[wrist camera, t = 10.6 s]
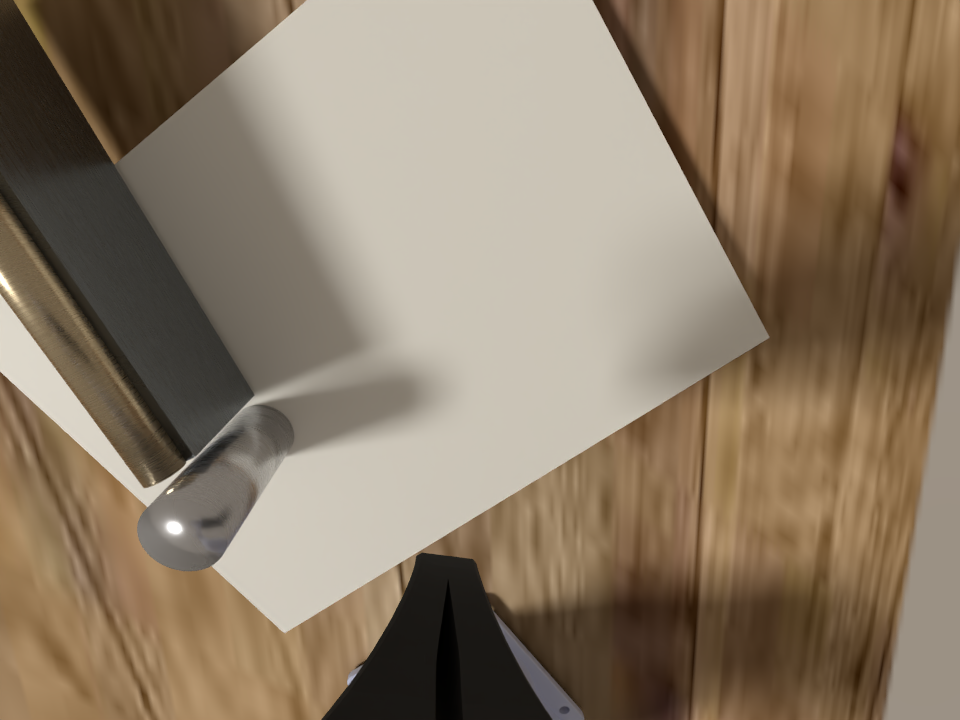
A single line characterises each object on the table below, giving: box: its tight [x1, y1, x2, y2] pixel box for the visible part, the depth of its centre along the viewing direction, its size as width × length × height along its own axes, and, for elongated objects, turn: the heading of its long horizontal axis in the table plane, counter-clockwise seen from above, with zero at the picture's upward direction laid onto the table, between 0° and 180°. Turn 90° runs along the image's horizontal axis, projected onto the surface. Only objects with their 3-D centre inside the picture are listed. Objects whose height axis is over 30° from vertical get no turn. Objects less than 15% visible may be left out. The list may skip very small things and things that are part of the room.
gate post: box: [137, 405, 294, 571], centre depth 18 cm, size 2×2×7 cm
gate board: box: [0, 0, 770, 633], centre depth 19 cm, size 18×24×1 cm
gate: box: [0, 0, 254, 488], centre depth 15 cm, size 2×14×6 cm, turn 23°
